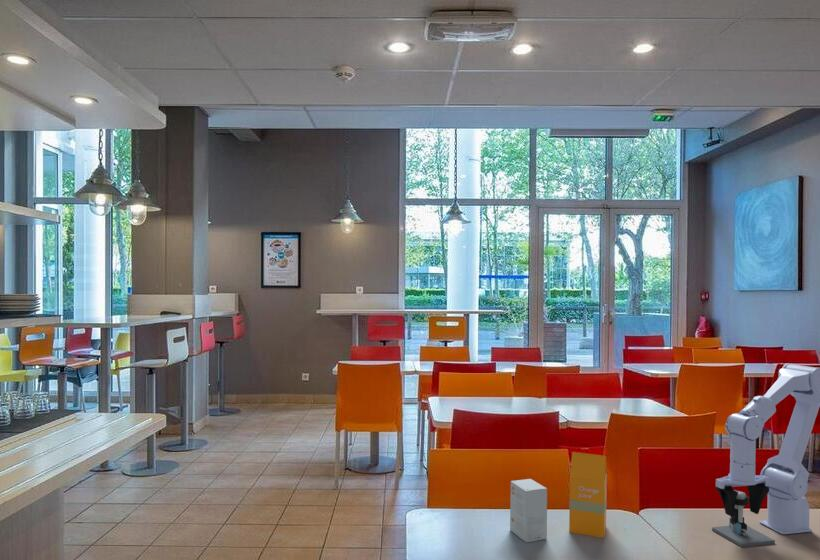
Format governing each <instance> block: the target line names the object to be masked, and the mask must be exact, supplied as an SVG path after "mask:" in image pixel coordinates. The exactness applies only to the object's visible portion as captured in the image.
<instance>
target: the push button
mask: <svg viewBox="0 0 820 560" xmlns="http://www.w3.org/2000/svg"><path fill="white" fill-rule="evenodd" d="M733 490H734V491H736V492H738V495H737V497H736V501H735V511H734V516H730V517H729V525H728V526H729V527H730V528H731V530H732V531H735V532H736V533H737V534H743V535H744V536H748V535H747V534H746V533H745V532H747V526H748V524H747V523H745V517H744V507H746V506H748V505H749V500H750V498H749V495H747V494H746V492H745V491H744V492H743V491H740V490H737V489H733Z"/></svg>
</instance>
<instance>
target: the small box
mask: <svg viewBox="0 0 820 560" xmlns="http://www.w3.org/2000/svg"><path fill="white" fill-rule="evenodd" d="M509 503H510V504H509V505H510V506H509V507H510V509H509V510H510V511H509V512H510V513H509V514H510V515H509V518H510V519H509V531H511V532H512V533H513V534H514V535H516V536H517V537H518V538H519V539H520V540H522V541H523V542H524V543H532V542H538V541H542V540H543V541H544V540H546V539H548V488H547V487H546V486H543V485H542V484H541V483H539V482H537V481H535V480H534V479H532V478H526V479H517V480H511V481H510V502H509Z"/></svg>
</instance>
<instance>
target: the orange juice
mask: <svg viewBox="0 0 820 560" xmlns="http://www.w3.org/2000/svg"><path fill="white" fill-rule="evenodd" d="M570 461H571V462H570V475H569V499H568V501H569V502H568V503H569V505H568V508H569V509H568V510H569V516H568V517H569V521H568V522H569V524H568V527H569V529H568V530H569V531H568V532H569V533H571V534H572V533H574V534H577V535H578V534H579V535H584V536H585V535H586V536H590V537H591V536H592V537H597V538H605V534H606V528H607V499H608V498H607V482H608V481H607V480H608V479H607V478H608V477H607V475H608V473H607V472H608V471H607V456H606V455H603V454H594V453H588V452H587V453H585V452H576V451H572V452H571V460H570Z"/></svg>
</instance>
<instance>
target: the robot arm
mask: <svg viewBox="0 0 820 560" xmlns="http://www.w3.org/2000/svg"><path fill="white" fill-rule="evenodd" d="M777 376H778V377H777V380H776V381H774V383H773V384H772V385H771V386H770V388H769V389H767V391H766V393H765V394H763V395H756V396H753V398H752V400H751V401H749V402H748V404H747V405H745V407H744V408H742V409H741V410H740V411H739V412H738V413H737V412H735V413H732V414H730V415H729V416H728V417H727V420H726V422H725V424H724V428H725V432H727V436H728V437H727V438H728V441H729V443H730V445H729V447H730V449H729V450H730V451H729V453H730V454H729V461H730V463H729V473H728V475H727V476H726V475H725V476H723V477H720V478H715V489H716V491H717V492H718V494H719V496H720V498H721V501H722V504H723V507H724V509H723V510H724V512H725V515H727V516H730V517H731V516H734V511H735V501H736V497H737V495H738V492H736V491H737V490H736V491H734V490H735V489H734V488H735V487H746V486H747V492H748V497H749V498H750V500H749V502H748V505H749V511H750V512H751V513H753V514H755V515H758V514H759V513H760V510H761V507H762V504H763V502H764V499H765V498H766V496H767V506H766V507H767V508H766V509H767V510H766V511H767V514H766V515H767V518H766V519H765V520H759V521H758V522H759V523H760V524H762V526H763V525H764V526H765V527H767V528H769V529H771V530H773V531H775V532H777V533H779V534H781V535H792V534H801V533H810V532H813V529H812V528H810V505H809V502H808V499H807V498H806V497H805V495H806V494H807V491H808V488H809V487H808V486H809V484H808V480H809V476H810V472H809V471H808V470H807V468H806V467H805V466H804V465H803V464H802V461H803V459H804V456H805V452H806V450H807V446H808V443H809V440H810V437H811V434H812V431H813V428H814V425H815V423H816V422H815V421H816V420H817V419H816V418H817V416H818V413H819V410H820V367H814V366H809V365H808V366H807V365H800V364H794V363H789V362H788V363H785V364H783V366H782V368H779V369H778V375H777ZM789 395H791V396H792V397H794V400H795V401H796V402H795V405H794V407H793V409H792V410H793V411H792V414H791V417H790V420H789V423H788V426H787V429H786V431H785V434H784V438H783V441H782V444H781V446H780V449H779V453H778V454H777V455H774V456H772V457H770V458H767V461H766V462H767V463H766V464H765V466H763V468H762V469H761V471H760V474H759V475H758V474H757V475H756V447H757V446H756V445H757V444H756V443H757V441H756V440H757V439H758V438H760V437H761V434H762V430H763V429H764V426H765V423H766V422H767V421H768V420H769V419H771V417H772V416H774V414H775V413H776V412H777V408H776V406H777V405H778V404H779V403H780V402H781V401H782V400H784V399H785V398H787V396H789Z"/></svg>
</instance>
